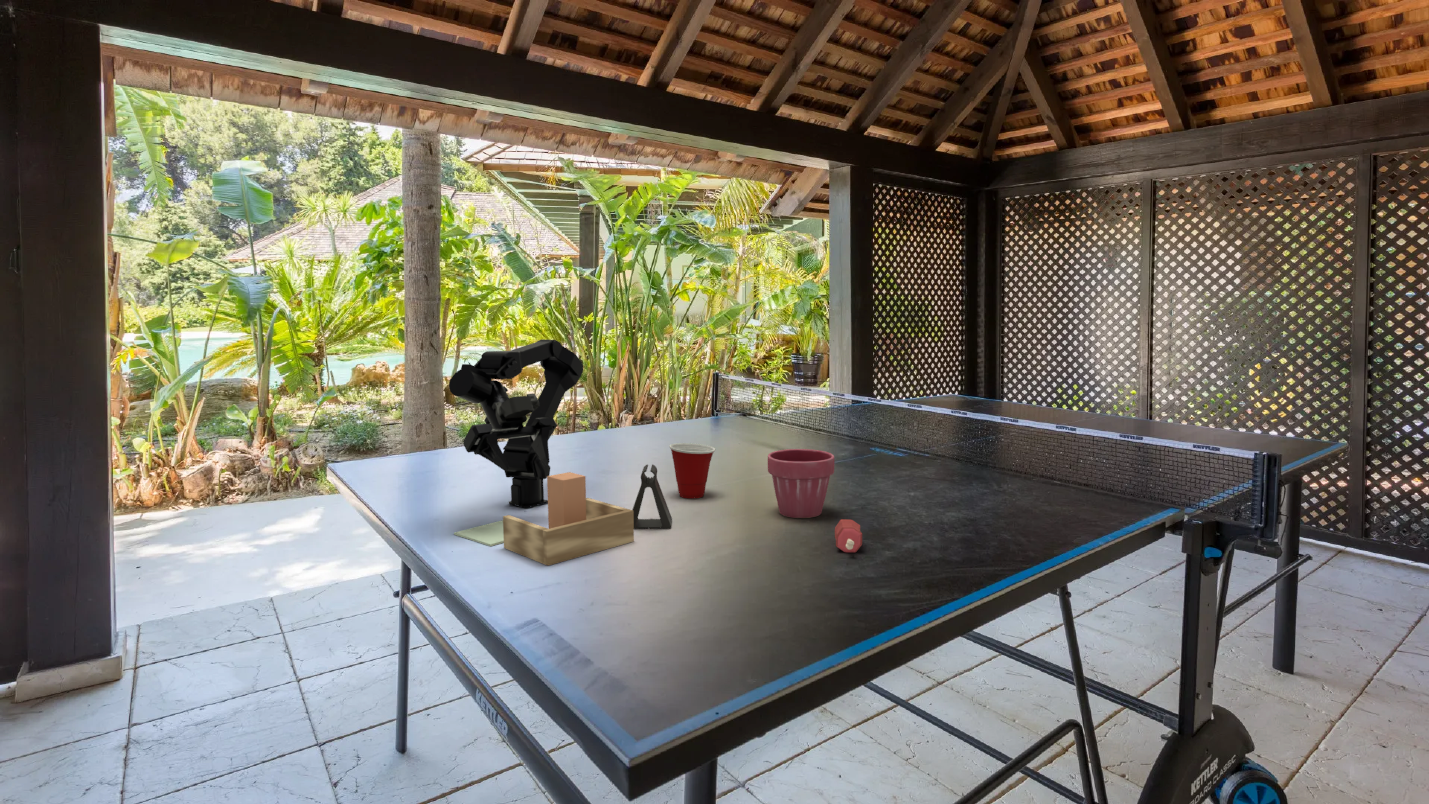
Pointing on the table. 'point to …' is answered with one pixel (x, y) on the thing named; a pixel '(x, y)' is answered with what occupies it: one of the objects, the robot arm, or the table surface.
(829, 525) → the table surface
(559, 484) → the block
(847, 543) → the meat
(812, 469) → the plant pot
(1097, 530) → the table surface
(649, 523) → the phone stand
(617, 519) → the u-shaped frame
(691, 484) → the plastic cup
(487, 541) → the mat
